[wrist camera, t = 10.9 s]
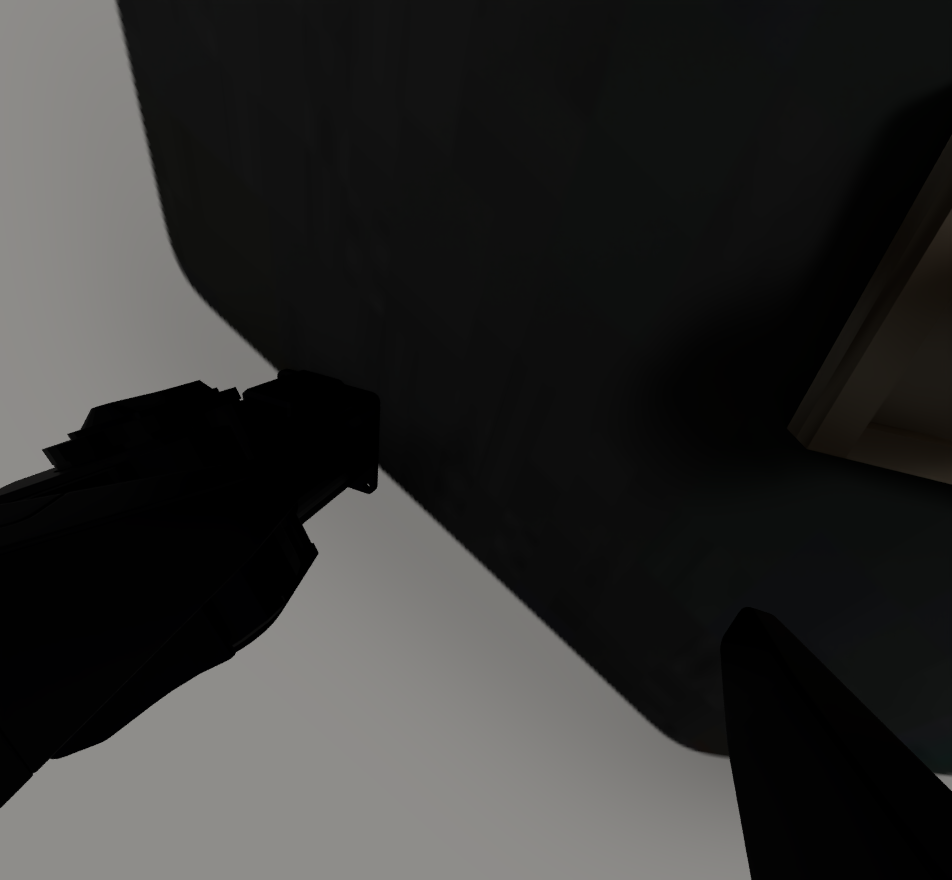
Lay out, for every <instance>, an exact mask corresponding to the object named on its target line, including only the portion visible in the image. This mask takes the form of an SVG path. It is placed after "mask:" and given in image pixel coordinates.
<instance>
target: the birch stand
mask: <svg viewBox="0 0 952 880" xmlns="http://www.w3.org/2000/svg"><path fill="white" fill-rule="evenodd" d="M787 429H788V430H789V431H790V432H791V433H792V434H793V435H794V436H795V438H796V439H797V440H798V441H799V442H800V443H801V444H802V445H803V446H804V447H805V448H806V449H809V450H813V451H817V452H821V453H825V454H829V455H833V456H837V457H841V458H846V459H850V460H854V461H858V462H862V463H866V464H870V465H874V466H878V467H882V468H887V469H891V470H895V471H899V472H903V473H907V474H911V475H915V476H919V477H923V478H928V479H932V480H936V481H940V482H944V483H948V484H952V135H951V137H950V139H949V141H948V142H947V144H946V146H945V148H944V149H943V151H942V153H941V155H940V157H939V158H938V160H937V162H936V164H935V165H934V167H933V169H932V171H931V173H930V174H929V176H928V178H927V180H926V181H925V183H924V185H923V187H922V189H921V190H920V192H919V194H918V196H917V197H916V199H915V201H914V203H913V205H912V206H911V208H910V210H909V212H908V213H907V215H906V217H905V219H904V221H903V222H902V224H901V226H900V228H899V229H898V231H897V233H896V235H895V237H894V238H893V240H892V242H891V244H890V245H889V247H888V249H887V251H886V253H885V254H884V256H883V258H882V260H881V261H880V263H879V265H878V267H877V269H876V270H875V272H874V274H873V276H872V277H871V279H870V281H869V283H868V285H867V286H866V288H865V290H864V292H863V293H862V295H861V297H860V299H859V301H858V302H857V304H856V306H855V308H854V309H853V311H852V313H851V315H850V317H849V318H848V320H847V322H846V324H845V325H844V327H843V329H842V331H841V332H840V334H839V336H838V338H837V340H836V341H835V343H834V345H833V347H832V348H831V350H830V352H829V354H828V356H827V357H826V359H825V361H824V363H823V364H822V366H821V368H820V370H819V372H818V373H817V375H816V377H815V379H814V380H813V382H812V384H811V386H810V388H809V389H808V391H807V393H806V395H805V396H804V398H803V400H802V402H801V404H800V405H799V407H798V409H797V411H796V412H795V414H794V416H793V418H792V420H791V421H790V423H789V425H788V427H787Z"/></svg>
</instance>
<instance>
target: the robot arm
mask: <svg viewBox="0 0 952 880" xmlns="http://www.w3.org/2000/svg"><path fill="white" fill-rule="evenodd" d="M277 377H278V379H275V380H272V381H269V382H266V383H263V384H260V385H258V386H255V387H252V388H249V389H247V390H246V391H244V392H243V394H242V395H243V400H241V401H240V400H239V399H241V397H240V395H239V393H238V391H237V389H236V387H234V388H231V389H228V390H224V391H221V392H219V391H218V389H217V388H213V389H212V388H210V387H209V386H207V385H206V384H204V383H203V382H201V381H200V380H198V381H194V382H191V383H187V384H184V385H181V386H177V387H173V388H169V389H166V390H162V391H158V392H154V393H151V394H146V395H142V396H137V397H133V398H129V399H124V400H120V401H116V402H112V403H108V404H105V405H101V406H98V407H95V408H92V409H91V410H90V412H89V414H88V416H87V418H86V420H85V422H84V424H83V426H82V428H81V430H79V431H75V432H72V433H69V434H68V436H69V438H70V439H71V440H69V441H66V442H63V443H60V444H57V445H54V446H51V447H48V448H45V449H43V450H42V451H43V452H44V453H45V455H46V456H47V458H48V459H49V461H50V462H51V463H52V465H54V467H55V468H53V469H49V470H47V471H44V472H41V473H38V474H35V475H33V476H30V477H27V478H24V479H21V480H18V481H15V482H13V483H11V484H9V485H6V486H4V487H2V488H1V489H0V808H1V807H2V806H3V805H4V804H5V803H6V802H7V801H8V800H9V799H10V798H11V797H12V796H13V795H14V794H15V793H16V792H17V791H18V790H19V789H20V788H21V787H22V786H23V785H24V784H25V783H26V782H27V781H28V780H29V779H30V778H31V777H32V776H33V773H35V772H37V771H38V770H39V769H40V768H41V767H42V765H44V764H45V763H46V762H47V761H48V760H49V759H59V758H62V757H65V756H68V755H70V754H73V753H75V752H78V751H81V750H83V749H86V748H89V747H91V746H94V745H96V744H99V743H101V742H103V741H105V740H107V739H108V738H110V737H111V736H112V735H114V734H115V733H116V732H118V731H119V730H120V729H122V728H123V727H124V726H126V725H127V724H128V723H129V722H131V721H132V720H133V719H135V718H136V717H137V716H139V715H140V714H141V713H142V712H144V711H145V710H146V709H148V708H149V707H150V706H152V705H153V704H154V703H156V702H157V701H159V700H160V699H161V698H163V697H164V696H166V695H167V694H168V693H170V692H171V691H173V690H174V689H176V688H177V687H179V686H180V685H182V684H184V683H186V682H187V681H189V680H190V679H192V678H193V677H195V676H197V675H199V674H200V673H202V672H204V671H207V670H209V669H211V668H213V667H215V666H217V665H219V664H221V663H223V662H225V661H227V660H229V659H231V658H232V657H233V656H234V655H235V653H236V652H237V651H239V650H241V649H242V648H244V647H245V646H247V645H248V644H250V643H251V642H252V641H254V640H255V639H256V638H257V637H259V636H260V635H261V634H262V633H263V632H265V631H266V630H267V629H268V628H269V627H270V626H271V625H272V624H273V623H274V621H275V620H276V619H277V618H278V616H279V615H280V613H281V612H282V610H283V609H284V607H285V606H286V604H287V603H288V601H289V599H290V598H291V596H292V595H293V593H294V591H295V590H296V588H297V587H298V585H299V584H300V582H301V580H302V579H303V577H304V576H305V574H306V573H307V571H308V569H309V568H310V566H311V565H312V563H313V561H314V560H315V558H316V557H317V555H318V551H317V549H316V547H315V545H314V543H311V542H310V539H309V538H308V535H307V534H306V531H305V529H304V527H303V525H302V524H303V523H304V522H305V521H307V520H308V519H309V518H311V517H312V516H313V515H314V514H315V513H317V512H318V511H319V510H320V509H321V508H323V507H324V506H325V505H327V504H328V503H329V502H330V501H331V500H333V499H334V498H335V497H336V496H337V495H339V494H340V493H341V492H342V491H344V490H345V489H346V488H347V487H350V488H352V489H355V490H358V491H361V492H364V493H367V494H370V493H372V492H373V491H375V490H376V489H377V482H378V452H379V420H380V399H379V398H378V396H377V395H376V394H375V393H373V392H370V391H366V390H363V389H359V388H356V387H352V386H348V385H345V384H344V383H343V382H342V381H341V380H339V379H335V378H331V377H328V376H324V375H320V374H317V373H313V372H310V371H306V370H302V371H299V372H298V371H294V370H291V369H285V370H281V371H279V372H278V376H277ZM368 399H370V400H371V402H372V405H371V404H370V403H369V402H368ZM367 484H369V486H370V487H369V486H368V485H367ZM720 652H721V666H722V681H723V695H724V709H725V723H726V734H727V744H728V751H729V757H730V763H731V768H732V774H733V780H734V785H735V791H736V797H737V802H738V807H739V813H740V819H741V824H742V830H743V835H744V841H745V847H746V852H747V857H748V863H749V869H750V875H751V880H952V791H951V790H950V789H949V788H948V787H947V786H946V785H945V784H944V783H943V782H942V781H941V780H940V779H939V778H938V777H937V776H936V775H935V774H934V773H933V772H932V771H931V770H930V769H929V768H928V767H927V766H926V765H925V764H924V763H923V762H922V761H921V760H920V759H919V758H918V757H917V756H916V755H915V754H914V753H913V752H912V751H911V750H910V749H909V748H908V747H907V746H906V745H904V744H903V743H902V742H901V741H900V740H899V739H898V738H897V737H896V736H895V735H894V734H893V733H892V732H891V731H890V730H889V729H888V728H887V727H886V726H885V725H884V724H883V723H882V722H881V721H880V720H879V719H878V718H877V717H876V716H875V715H874V714H873V713H872V712H871V711H870V710H869V709H868V708H867V707H866V706H865V705H864V704H863V703H862V702H861V701H860V700H859V699H858V698H857V697H856V696H855V695H854V694H853V693H852V692H851V691H850V690H849V689H848V688H847V687H846V686H845V685H844V684H843V683H842V682H841V681H840V680H839V679H838V678H837V677H836V676H835V675H834V674H833V673H832V672H831V671H830V670H829V669H828V668H827V667H826V666H825V665H824V664H823V663H822V662H821V661H820V660H819V659H818V658H817V657H816V656H815V655H814V654H813V653H812V652H811V651H810V650H809V649H808V648H807V647H805V646H804V645H803V644H802V643H801V642H800V641H799V640H798V639H797V638H796V637H795V636H794V635H793V634H792V633H791V632H790V631H789V630H788V629H787V628H786V627H785V626H784V625H783V624H782V623H781V622H780V621H779V620H778V619H777V618H776V617H775V616H773V615H772V614H769V613H767V612H763V611H760V610H757V609H754V608H751V607H745V608H743V609H741V611H740V612H739V613H738V615H737V616H736V618H735V619H734V621H733V622H732V624H731V625H730V627H729V628H728V630H727V632H726V633H725V635H724V636H723V639H722V642H721V648H720Z"/></svg>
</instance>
